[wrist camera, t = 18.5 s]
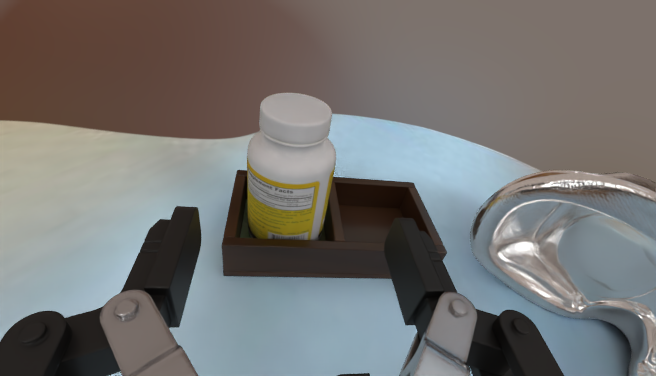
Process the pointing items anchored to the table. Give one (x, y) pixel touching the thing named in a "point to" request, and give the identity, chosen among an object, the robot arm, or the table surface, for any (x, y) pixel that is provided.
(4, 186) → the table surface
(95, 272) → the table surface
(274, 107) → the supplement bottle
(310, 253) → the divided box
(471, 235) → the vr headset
